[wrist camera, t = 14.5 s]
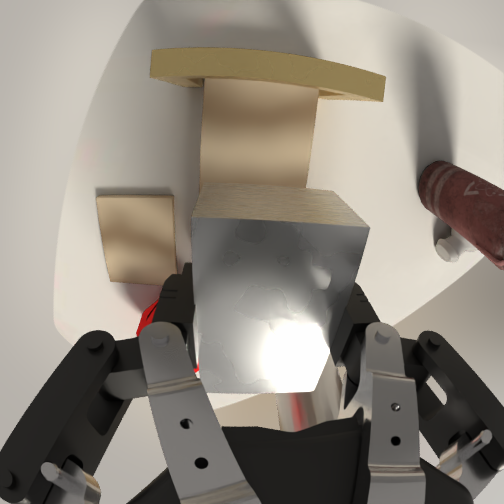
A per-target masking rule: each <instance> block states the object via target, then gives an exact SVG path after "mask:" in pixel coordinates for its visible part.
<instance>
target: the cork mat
mask: <svg viewBox="0 0 504 504" xmlns="http://www.w3.org/2000/svg"><path fill="white" fill-rule="evenodd" d="M96 201H97V209H98V216H99V223H100V230H101V236H102V242H103V248H104V253H105V258H106V263H107V268H108V273H109V278H110V282H122V283H135V284H149V285H164V282H165V280H166V279H167V278H168V277H169V276H170V275H171V274H177V263H176V246H175V222H174V196H168V195H99V196H98V197H97V198H96Z"/></svg>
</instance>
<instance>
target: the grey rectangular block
mask: <svg viewBox="0 0 504 504" xmlns="http://www.w3.org/2000/svg"><path fill="white" fill-rule="evenodd" d="M369 230H370V227H369V226H368V225H367V224H366V223H365V222H364V221H363V220H362V219H361V218H360V217H359V216H358V215H357V214H356V213H355V212H354V211H353V210H352V209H351V208H350V207H349V206H348V205H347V204H346V203H345V202H344V201H343V200H342V199H341V198H340V197H339V196H338V195H337V194H336V193H335V192H334V191H328V190H319V189H308V188H297V187H285V186H272V185H257V184H239V183H215V182H204V184H203V187H202V189H201V192H200V195H199V197H198V200H197V203H196V205H195V208H194V211H193V213H192V216H191V240H192V272H193V293H194V304H195V305H196V317H197V333H198V346H199V354H198V362H199V373H200V380H201V382H202V384H203V386H204V389H205V391H206V393H237V394H256V393H287V392H304V391H314V389H315V386H316V384H317V382H318V380H319V377H320V375H321V372H322V370H323V368H324V365H325V363H326V360H327V358H328V355H329V353H330V347H331V345H332V342H333V340H334V337H335V334H336V331H337V329H338V326H339V323H340V320H341V318H342V315H343V312H344V309H345V306H347V304H348V301H349V298H350V295H351V292H352V289H353V286H354V282H355V279H356V276H357V273H358V269H359V266H360V263H361V259H362V256H363V252H364V249H365V245H366V241H367V238H368V234H369Z"/></svg>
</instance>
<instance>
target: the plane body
mask: <svg viewBox="0 0 504 504" xmlns="http://www.w3.org/2000/svg"><path fill="white" fill-rule="evenodd" d="M318 93H319V89H314V88H308V87H302V86H295V85H288V84H281V83H272V82H263V81H251V80H237V79H214V78H205V84H204V97H203V112H202V129H201V150H200V180H199V195H200V192H201V189H202V187H203V184H204V182H215V183H239V184H257V185H272V186H285V187H297V188H306V183H307V176H308V170H309V163H310V156H311V149H312V141H313V134H314V126H315V118H316V110H317V102H318Z"/></svg>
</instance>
